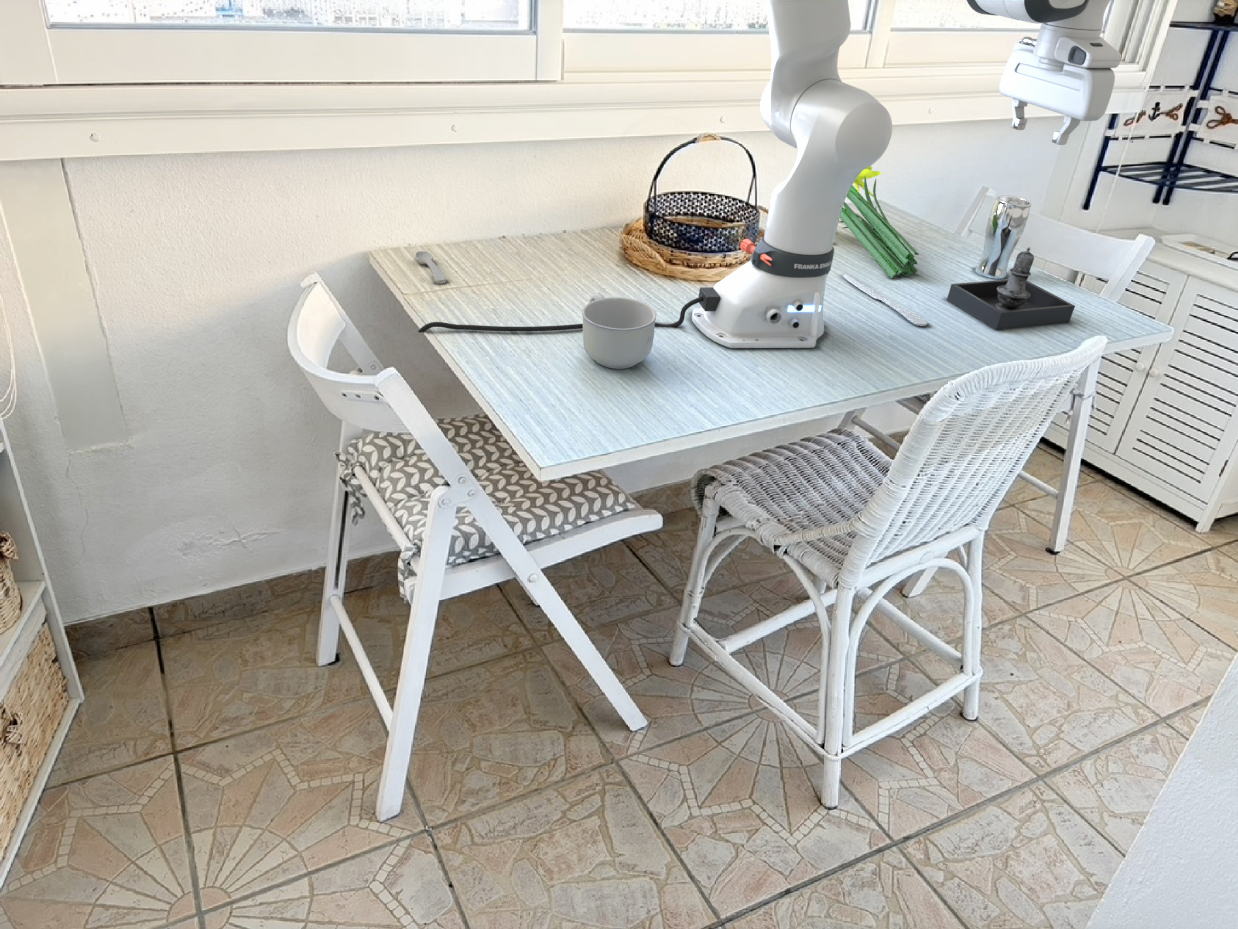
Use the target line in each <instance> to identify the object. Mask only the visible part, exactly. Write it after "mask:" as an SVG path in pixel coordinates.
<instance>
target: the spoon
mask: <svg viewBox="0 0 1238 929" xmlns="http://www.w3.org/2000/svg"><path fill="white" fill-rule="evenodd" d="M414 258H415V261H416V262H418V264H421V265H427V266H428V268H429V270H430V271H431V273H432V275H433V279H434V282H435V284H437V285H441V284H445V283H446V282H447V278H446V276H445V275H444V274H443V273H442V271H441V270H440V269H439V267H438V266H437V265H436V263H435V262H434V256H433V255H432V254H431V253H430V252H428V251H424V250H421V251H417V252H416V253H415V255H414Z"/></svg>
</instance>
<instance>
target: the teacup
mask: <svg viewBox="0 0 1238 929" xmlns="http://www.w3.org/2000/svg"><path fill="white" fill-rule="evenodd" d="M581 315H582V324H583V328H582V342H583V347H584V350H585V352H586V354H587V356H589V357H590V359H592V360H594V361H595V362H596V363H597V364H598V365H601V366H603V367H605V368H609V369H614V370H615V369H616V370H621V369H622V370H623V369H628V368H631V367H634V366H635V365H638V364H639V363H641V362H643V361H644V360H646V358H647V357H648V356H649V355H650V353H651V350H652V348H653V344H654V337H655V327H656V326H655V323H656V320H657V313H656V310H655V309H654V308H653V307H652V306H651V305H650V304H648V303H646V302H644V301H642V300H638V299H634V298H629V297H618V296H615V297H605V296H604V295H603V294H601V293H596V294H593V295H592V296H591V297H590V299H589V303H587V304H586V305H584V307H583V308H582V312H581Z"/></svg>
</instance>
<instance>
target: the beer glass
mask: <svg viewBox="0 0 1238 929" xmlns="http://www.w3.org/2000/svg"><path fill="white" fill-rule="evenodd" d="M1031 207H1032V202H1031V201H1029V200H1027V199H1025V198H1022V197H1018V196H1014V195H998V196H997V195H996V198H995V201H994V203H993V206H992V209H991V210H990V213H989V217H988V220H987V223H986V229H985V235H984V244H983V250H982V254H981V256H980V259H979V261H978V263H977V265H976V267H975V268H974V271H975V273H976V274H977V275H980V276H982V277H985V278H987V279H992V280H1004V279H1005V278H1006V277H1007V275H1008V266H1009V262H1010V258H1011V257H1012V255H1013V253H1014V250H1015V249H1016V247H1017V245H1018V243H1019V242H1020V239H1021V237H1022V235H1023V233H1024V231H1025V228H1026V225H1027V222H1028V218H1029V214H1030V210H1031Z"/></svg>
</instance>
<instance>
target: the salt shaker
mask: <svg viewBox="0 0 1238 929" xmlns="http://www.w3.org/2000/svg"><path fill="white" fill-rule="evenodd" d="M1034 260H1035V256H1034V254H1033V253H1031V247H1030V246H1028V247H1027V248H1026V250H1025V251H1020V252H1019V253H1017V255H1016V258H1015V261H1014V264H1013V267H1012V268H1010V269H1009V271H1010V275H1009V277H1008V279H1009V280H1008V282H1007V284H1006V285H1003V286H999V287H998V288H997V290H998V293H997V295H998V300H999V301H1000V303H997V304H994V305H993V306H994V307H995V308H997V309H999V310H1001V311H1010V310H1020V308H1019V306H1021V305H1023V304H1024V303H1025V302H1026V301H1027V299H1028V298H1029V297H1030V293H1029V292H1027V291H1026V290H1025V285H1026V282H1027V281H1028V279H1029V277H1030V276H1031V275H1032V273H1031V270H1032V266H1033V263H1034Z"/></svg>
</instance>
